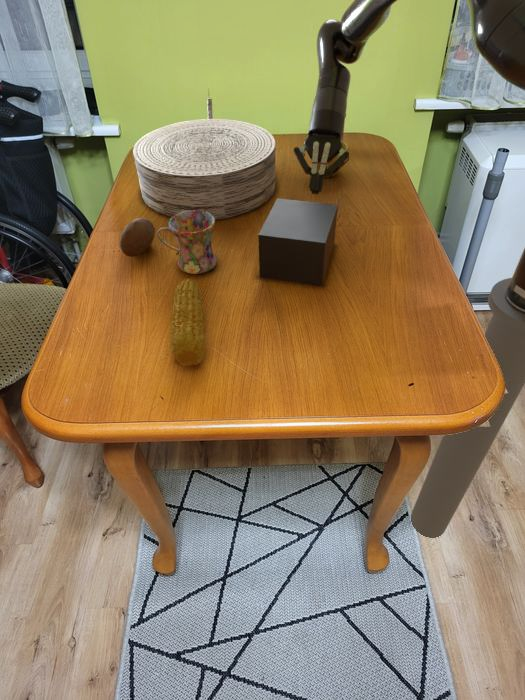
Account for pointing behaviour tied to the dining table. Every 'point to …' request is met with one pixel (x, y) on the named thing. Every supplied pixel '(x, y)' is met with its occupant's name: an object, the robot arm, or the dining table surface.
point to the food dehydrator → (206, 166)
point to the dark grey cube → (297, 241)
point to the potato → (137, 237)
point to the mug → (193, 240)
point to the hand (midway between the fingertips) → (314, 193)
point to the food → (187, 324)
